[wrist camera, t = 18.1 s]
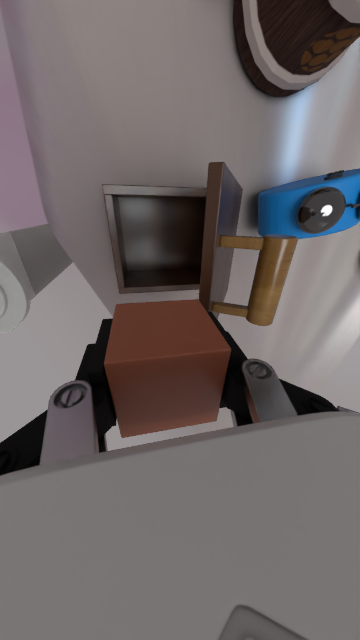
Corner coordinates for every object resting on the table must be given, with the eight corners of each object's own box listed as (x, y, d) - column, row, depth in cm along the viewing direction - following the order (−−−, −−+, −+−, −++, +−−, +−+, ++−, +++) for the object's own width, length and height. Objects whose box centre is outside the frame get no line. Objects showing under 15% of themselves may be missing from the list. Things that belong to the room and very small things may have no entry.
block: (126, 367, 12) (121, 438, 8) (115, 303, 10) (103, 363, 6) (193, 359, 13) (217, 421, 9) (198, 298, 11) (232, 348, 7)
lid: (194, 357, 16) (262, 373, 15) (208, 162, 10) (334, 156, 8) (222, 288, 30) (259, 293, 28) (236, 188, 23) (284, 188, 22)
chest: (122, 274, 35) (119, 294, 27) (111, 189, 28) (102, 184, 21) (206, 271, 38) (223, 288, 30) (213, 193, 31) (237, 189, 23)
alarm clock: (243, 233, 35) (303, 249, 23) (242, 194, 32) (311, 187, 19) (309, 214, 36) (404, 219, 23) (315, 173, 32) (429, 153, 20)
